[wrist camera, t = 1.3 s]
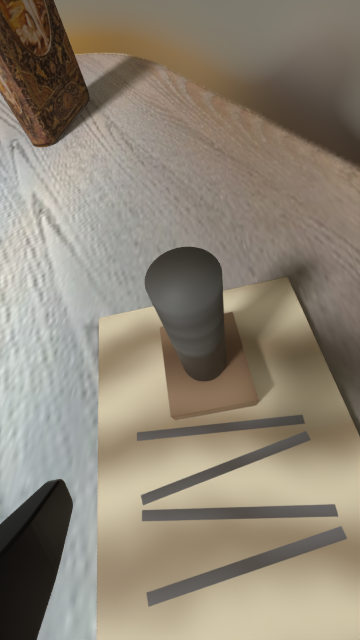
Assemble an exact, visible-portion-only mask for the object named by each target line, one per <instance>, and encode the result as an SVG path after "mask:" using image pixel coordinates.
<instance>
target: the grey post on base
mask: <svg viewBox="0 0 360 640" xmlns="http://www.w3.org/2000/svg"><path fill="white" fill-rule="evenodd" d="M145 288H146V291H147V293H148V296H149V298H150V300H151V302H152V304H153V306H154V308H155V310H156V312H157V314H158V316H159V318H160V320H161V322H162V324H163V327H160V335H161V343H162V351H163V359H164V367H165V375H166V383H167V391H168V399H169V407H170V415H171V417H172V418H173V419H174V420H175V421H178V420H184V419H189V418H194V417H200V416H205V415H210V414H216V413H221V412H226V411H232V410H237V409H242V408H248V407H253V406H256V405H257V403H258V396H257V393H256V389H255V386H254V383H253V379H252V376H251V372H250V369H249V366H248V362H247V359H246V355H245V352H244V349H243V345H242V342H241V338H240V335H239V332H238V328H237V325H236V321H235V318H234V315H233V312H228V313H224V304H223V282H222V269H221V266H220V263H219V262H218V260H217V259H216V258H215V257H214V256H213V255H212V254H211V253H209V252H208V251H206V250H203V249H200V248H196V247H180V248H176V249H172V250H170V251H167V252H165V253H164V254H162V255H160V256H159V257H158V258H157V259H156V260H155V261H154V262H153V263H152V264H151V265H150V267H149V269H148V271H147V273H146V276H145Z"/></svg>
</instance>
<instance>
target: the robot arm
mask: <svg viewBox="0 0 360 640" xmlns="http://www.w3.org/2000/svg"><path fill="white" fill-rule="evenodd" d="M72 509H73V502H72V498H71V496H70V493H69V491H68V489H67V487H66V484H65V482H64V481H63V480H62V479H57V480H52V481H48V482H46V483H45V484H44V485H43V486H42V487H41V488H40V489H38V490H37V491H36V492H35V493H34V494H33V495H32V496H31V497H30V498H29V499H27V500H26V501H25V502H24V503H23V504H22V505H21V506H20V507H19V508H18V509H16V510H15V511H14V512H13V513H12V514H11V515H10V516H9V517H8V518H7V519H5V520H4V521H3V522H2V523H1V524H0V640H37V637H38V634H39V630H40V627H41V624H42V621H43V618H44V615H45V612H46V608H47V605H48V602H49V599H50V596H51V593H52V590H53V586H54V583H55V580H56V576H57V573H58V569H59V565H60V561H61V556H62V552H63V548H64V544H65V539H66V535H67V531H68V526H69V522H70V518H71V514H72Z"/></svg>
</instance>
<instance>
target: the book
mask: <svg viewBox="0 0 360 640" xmlns="http://www.w3.org/2000/svg"><path fill="white" fill-rule="evenodd" d="M0 92H1V94H2V96H3V97H4V99H5V100H6V102H7V104H8V105H9V107H10V109H11V110H12V112H13V113H14V115H15V117H16V118H17V120H18V121H19V123H20V125H21V126H22V128H23V130H24V131H25V133H26V134H27V136H28V138H29V139H30V141H31V142H32V144H33V145H34V146H36V147H46V146H50V145H53V144H55V143H57V142H58V141H59V139H60V138H61V137H62V136H63V134H64V133H65V132H66V130H67V129H68V128H69V126H70V125H71V124H72V122H73V121H74V120H75V119H76V117H77V116H78V115H79V113H80V112H81V111H82V109H83V108H84V107H85V105H86V103H87V102H88V100H89V93H88V90H87V86H86V84H85V81H84V79H83V76H82V73H81V71H80V68H79V65H78V63H77V60H76V58H75V55H74V52H73V50H72V47H71V45H70V42H69V39H68V37H67V35H66V32H65V29H64V27H63V24H62V21H61V19H60V16H59V13H58V11H57V8H56V5H55V3H54V0H0Z"/></svg>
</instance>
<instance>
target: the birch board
mask: <svg viewBox="0 0 360 640" xmlns="http://www.w3.org/2000/svg"><path fill="white" fill-rule="evenodd" d="M223 304H224V313H228V312H233V315H234V318H235V321H236V325H237V328H238V332H239V335H240V338H241V342H242V345H243V349H244V352H245V355H246V359H247V362H248V366H249V369H250V372H251V376H252V379H253V383H254V386H255V389H256V393H257V396H258V403H257V405H256V406H253V407H248V408H242V409H237V410H232V411H226V412H221V413H216V414H210V415H205V416H200V417H194V418H189V419H184V420H178V421H175V420H174V419H173V418H172V417H171V415H170V407H169V399H168V391H167V383H166V375H165V367H164V359H163V351H162V343H161V335H160V327H163V324H162V322H161V320H160V318H159V316H158V314H157V312H156V310H155V308H154V306H152V307H148V308H143V309H139V310H134V311H130V312H125V313H121V314H116V315H112V316H107V317H103V318H99V405H98V540H97V640H360V436H359V434H358V432H357V429H356V427H355V425H354V423H353V421H352V418H351V416H350V414H349V412H348V410H347V407H346V405H345V403H344V401H343V399H342V396H341V394H340V392H339V390H338V387H337V385H336V383H335V381H334V379H333V376H332V374H331V372H330V370H329V368H328V365H327V363H326V361H325V359H324V357H323V354H322V352H321V350H320V348H319V345H318V343H317V341H316V339H315V337H314V334H313V332H312V330H311V328H310V326H309V323H308V321H307V319H306V317H305V315H304V312H303V310H302V308H301V306H300V304H299V301H298V299H297V297H296V295H295V292H294V290H293V288H292V286H291V284H290V281H289V279H288V277H284V278H279V279H275V280H270V281H266V282H261V283H257V284H252V285H248V286H243V287H238V288H234V289H229V290H225V291H223Z"/></svg>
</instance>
